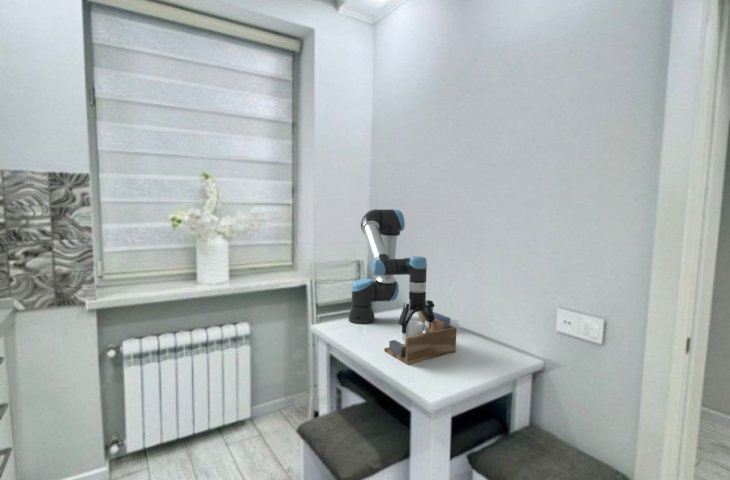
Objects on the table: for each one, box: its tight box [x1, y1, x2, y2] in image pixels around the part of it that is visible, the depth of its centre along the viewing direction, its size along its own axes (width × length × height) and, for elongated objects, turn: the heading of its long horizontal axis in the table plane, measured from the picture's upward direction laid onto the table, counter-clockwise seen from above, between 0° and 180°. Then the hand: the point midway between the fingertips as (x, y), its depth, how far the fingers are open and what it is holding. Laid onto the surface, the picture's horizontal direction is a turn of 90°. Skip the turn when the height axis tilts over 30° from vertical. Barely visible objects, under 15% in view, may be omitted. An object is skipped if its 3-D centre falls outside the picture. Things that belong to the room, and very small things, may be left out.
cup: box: [403, 319, 427, 346], centre depth 177 cm, size 8×12×10 cm
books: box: [430, 311, 451, 332], centre depth 183 cm, size 11×6×14 cm, turn 32°
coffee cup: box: [417, 299, 435, 331], centre depth 210 cm, size 9×9×15 cm
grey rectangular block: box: [388, 339, 406, 357], centre depth 173 cm, size 9×3×4 cm, turn 32°
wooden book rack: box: [383, 324, 457, 366], centre depth 178 cm, size 17×28×12 cm, turn 122°
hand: (416, 337), depth 177 cm, fingers closed on cup, 12 cm apart
